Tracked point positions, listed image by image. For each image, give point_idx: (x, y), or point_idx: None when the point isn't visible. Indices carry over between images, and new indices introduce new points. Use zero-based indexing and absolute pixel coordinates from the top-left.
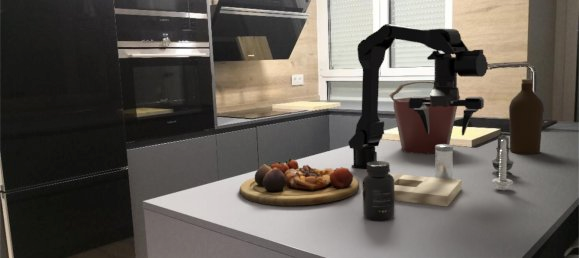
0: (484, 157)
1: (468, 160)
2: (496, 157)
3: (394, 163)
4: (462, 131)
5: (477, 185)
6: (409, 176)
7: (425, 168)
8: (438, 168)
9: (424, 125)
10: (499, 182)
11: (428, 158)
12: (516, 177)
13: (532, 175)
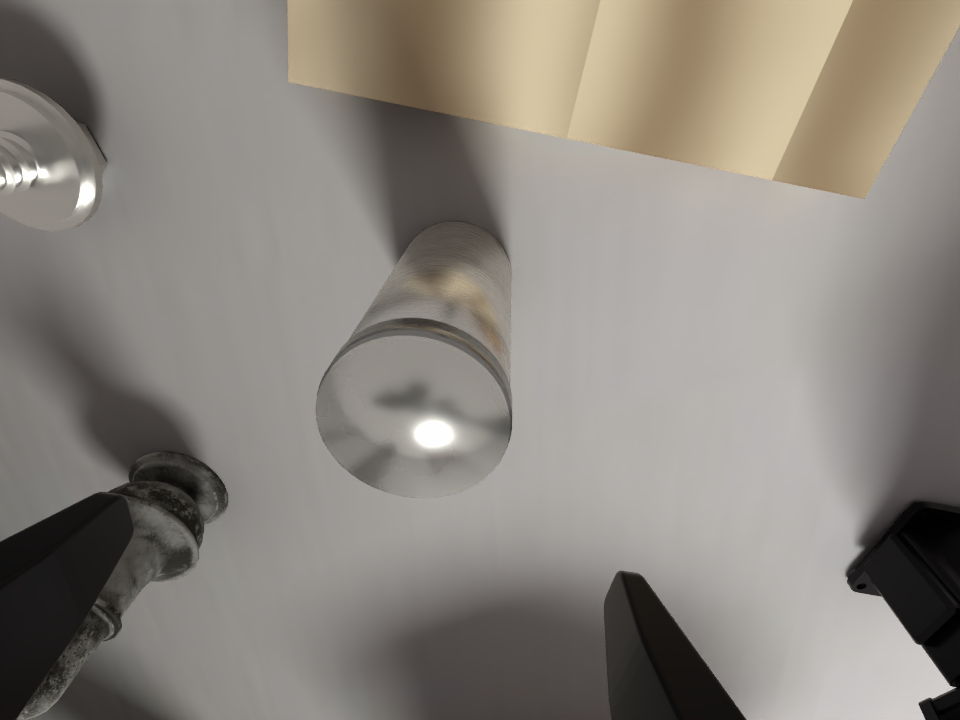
0: (319, 712)
1: (376, 674)
2: (154, 564)
3: (735, 615)
4: (61, 531)
5: (239, 224)
6: (731, 119)
7: (572, 545)
8: (483, 268)
9: (729, 708)
10: (15, 94)
11: (555, 693)
12: (95, 435)
13: (42, 479)
